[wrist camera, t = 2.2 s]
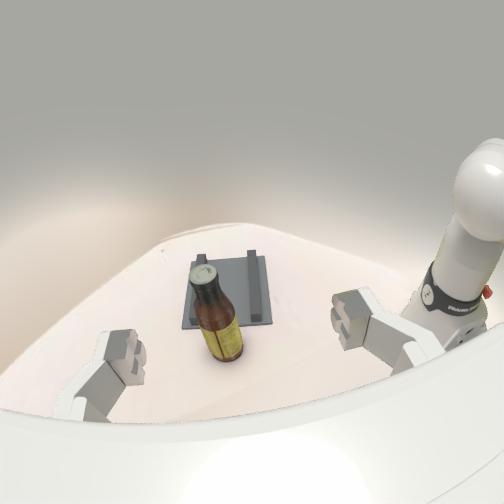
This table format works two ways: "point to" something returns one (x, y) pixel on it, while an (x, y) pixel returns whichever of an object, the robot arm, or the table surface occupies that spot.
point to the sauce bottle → (215, 314)
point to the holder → (236, 289)
